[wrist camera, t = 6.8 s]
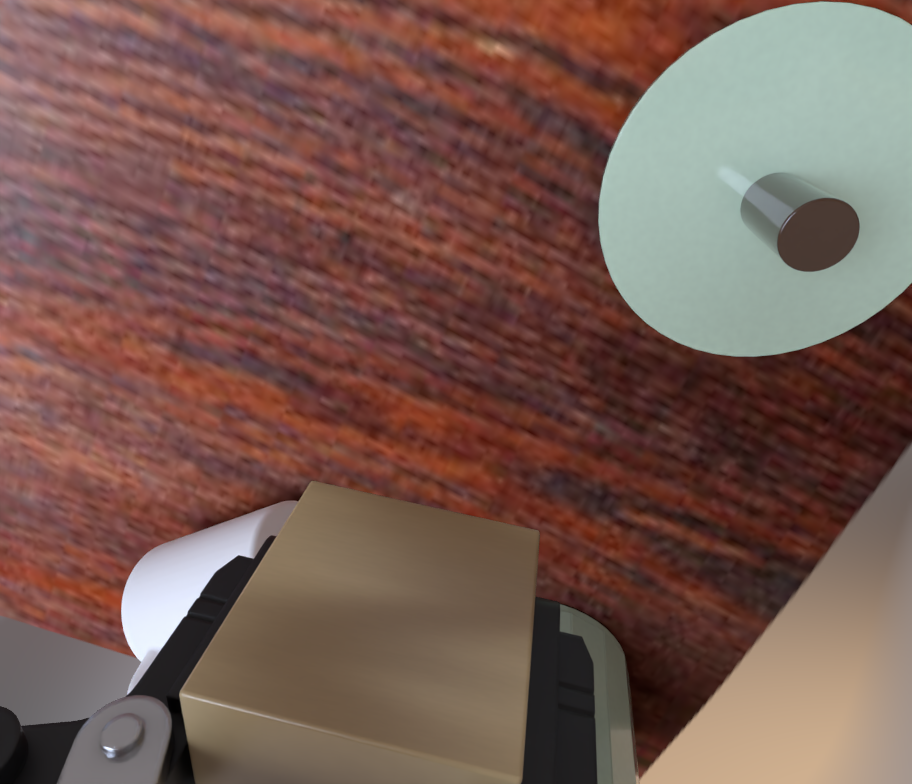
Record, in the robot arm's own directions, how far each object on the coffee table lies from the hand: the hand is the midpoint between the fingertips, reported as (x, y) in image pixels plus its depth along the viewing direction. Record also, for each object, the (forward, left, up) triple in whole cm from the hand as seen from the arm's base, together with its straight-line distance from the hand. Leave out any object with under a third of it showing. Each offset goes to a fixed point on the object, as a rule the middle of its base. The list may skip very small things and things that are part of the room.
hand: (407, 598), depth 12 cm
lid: (-10, -6, -18) cm, 22 cm away
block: (0, 0, 0) cm, 0 cm away
